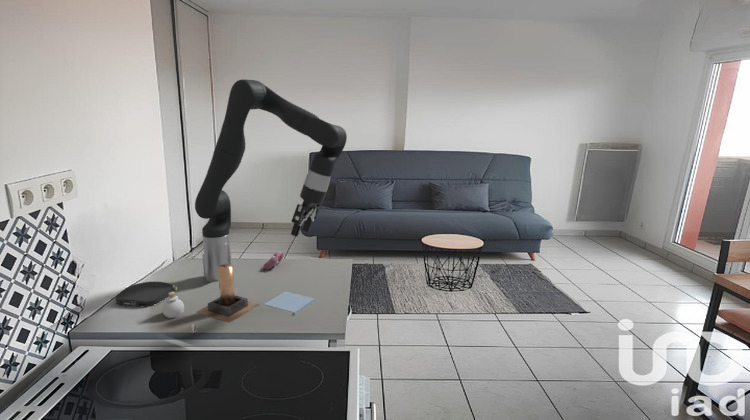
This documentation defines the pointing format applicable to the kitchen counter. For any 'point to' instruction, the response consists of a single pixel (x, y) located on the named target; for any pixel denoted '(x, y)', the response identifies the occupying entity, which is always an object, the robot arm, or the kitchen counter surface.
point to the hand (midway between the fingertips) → (299, 233)
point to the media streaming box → (144, 294)
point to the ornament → (173, 306)
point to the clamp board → (228, 309)
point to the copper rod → (226, 284)
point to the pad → (290, 302)
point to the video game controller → (274, 260)
